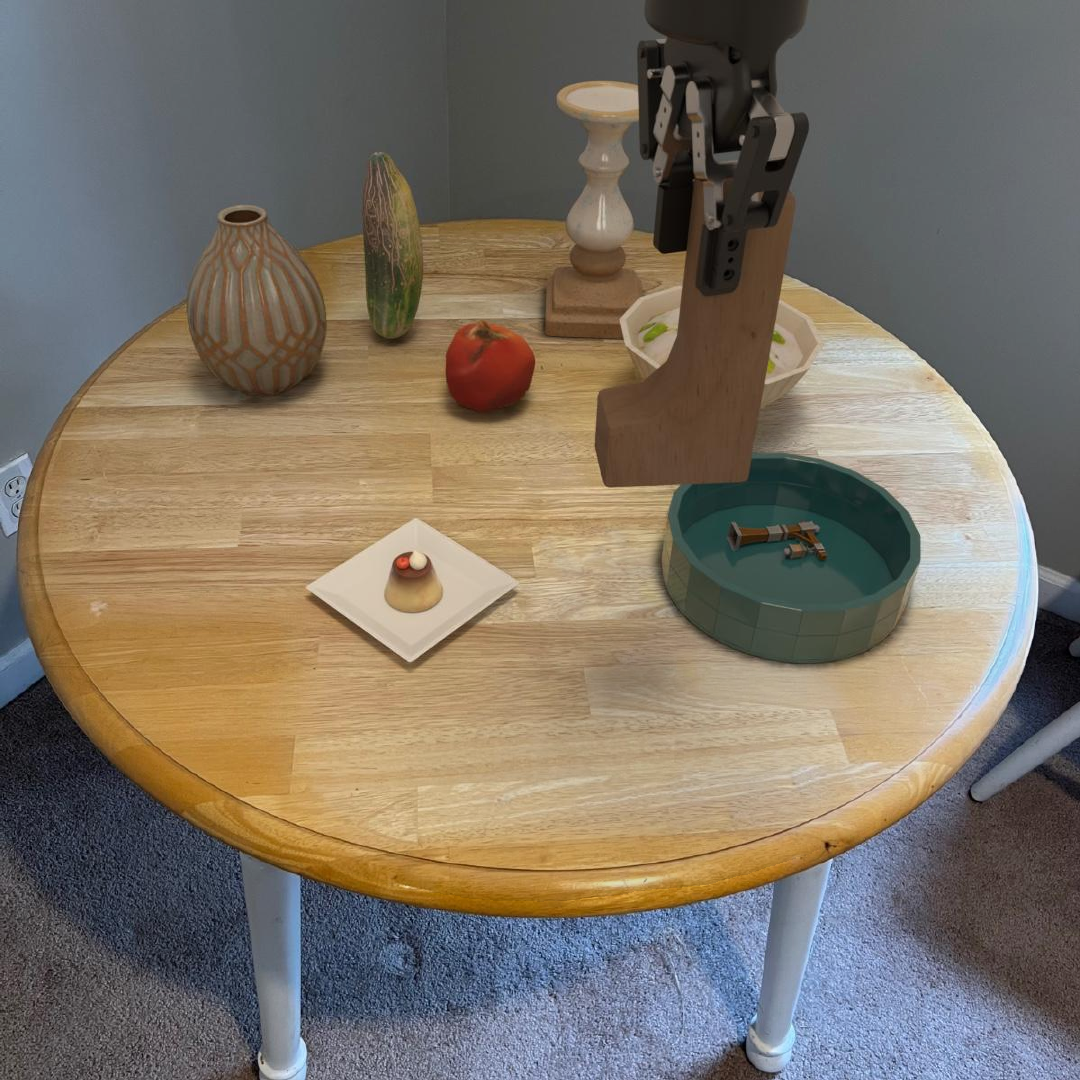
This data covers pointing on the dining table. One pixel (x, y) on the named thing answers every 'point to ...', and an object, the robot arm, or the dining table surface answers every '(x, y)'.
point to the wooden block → (701, 374)
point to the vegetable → (390, 248)
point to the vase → (255, 306)
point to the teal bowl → (792, 560)
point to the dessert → (412, 588)
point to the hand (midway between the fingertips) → (694, 268)
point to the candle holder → (596, 219)
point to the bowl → (657, 325)
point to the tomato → (488, 366)
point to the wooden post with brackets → (776, 533)
